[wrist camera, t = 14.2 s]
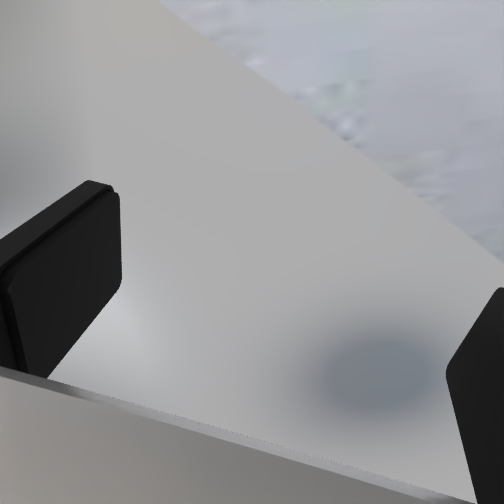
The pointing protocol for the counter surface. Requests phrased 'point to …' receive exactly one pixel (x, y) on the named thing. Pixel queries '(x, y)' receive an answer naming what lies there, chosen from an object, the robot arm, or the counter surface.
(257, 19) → the counter surface
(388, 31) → the counter surface
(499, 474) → the robot arm
